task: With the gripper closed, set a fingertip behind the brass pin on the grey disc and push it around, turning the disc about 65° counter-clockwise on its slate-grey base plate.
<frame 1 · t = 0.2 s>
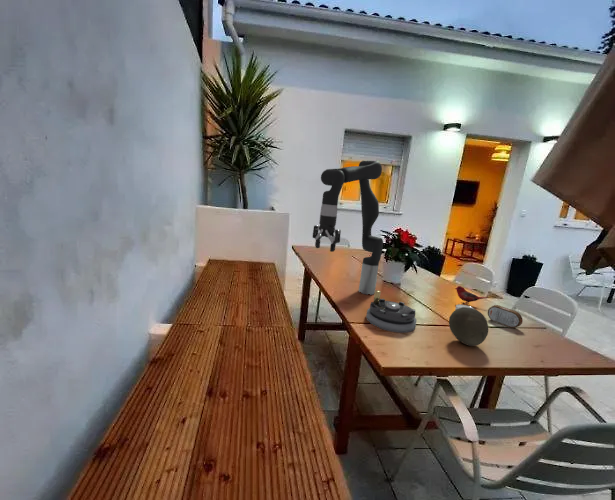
hand: (324, 249, 142), 29 cm above the table, tool pointing down, fingers open, 8 cm apart
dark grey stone: (464, 343, 127), on the table
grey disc: (392, 305, 140), point 8 cm above the table, hinge at 0.0°
base plate: (390, 321, 141), on the table
decorative bird figurine: (468, 305, 177), on the table
tin: (502, 324, 153), on the table
white cup: (461, 328, 142), on the table
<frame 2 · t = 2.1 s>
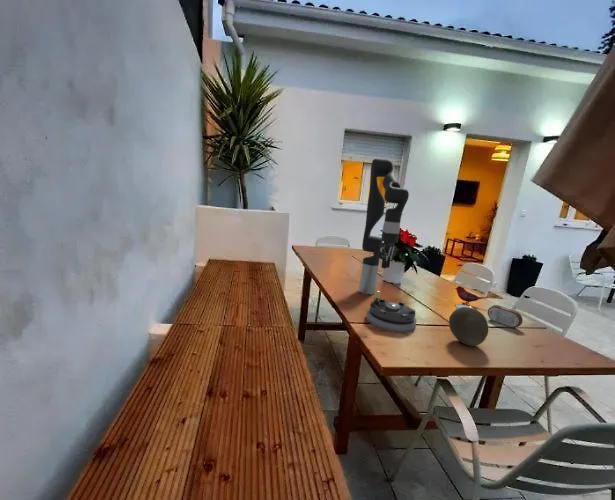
hand: (385, 267, 145), 23 cm above the table, tool pointing down, fingers closed
nothing on the table moved.
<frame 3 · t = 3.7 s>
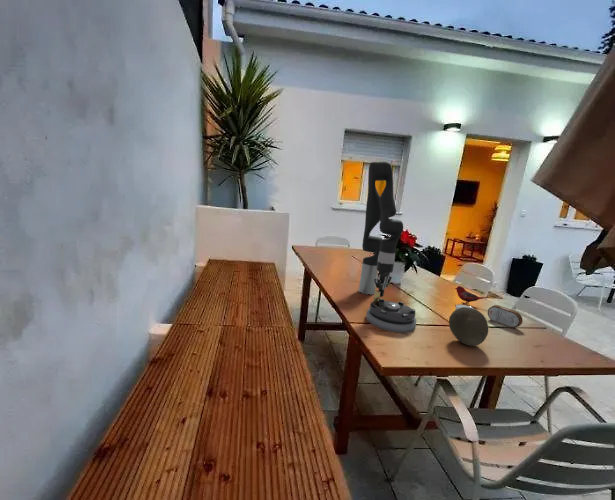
hand: (380, 296, 148), 9 cm above the table, tool pointing down, fingers closed
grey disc: (392, 305, 140), point 8 cm above the table, hinge at 1.9°, touching gripper
everything else where it was.
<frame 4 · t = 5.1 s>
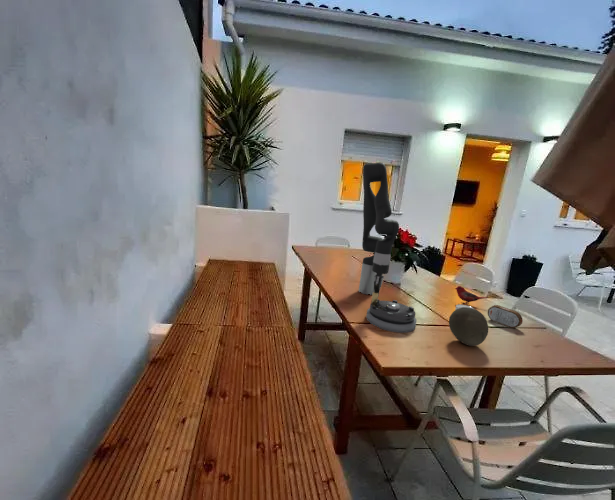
hand: (375, 297, 146), 9 cm above the table, tool pointing down, fingers closed
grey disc: (392, 305, 140), point 8 cm above the table, hinge at 20.8°, touching gripper
everything else where it was.
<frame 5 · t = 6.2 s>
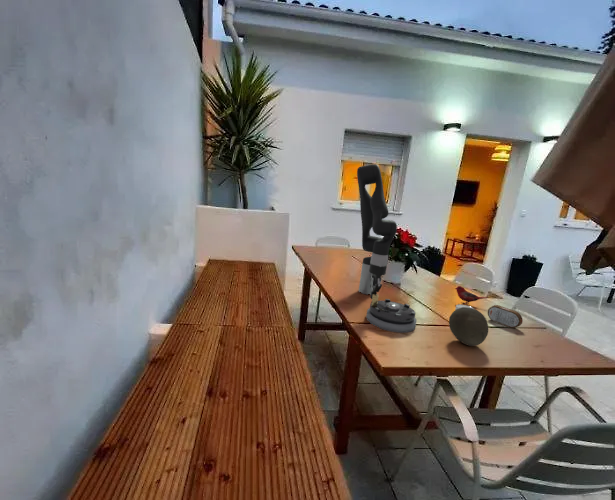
hand: (372, 298, 143), 9 cm above the table, tool pointing down, fingers closed
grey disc: (392, 305, 140), point 8 cm above the table, hinge at 42.3°, touching gripper
everything else where it was.
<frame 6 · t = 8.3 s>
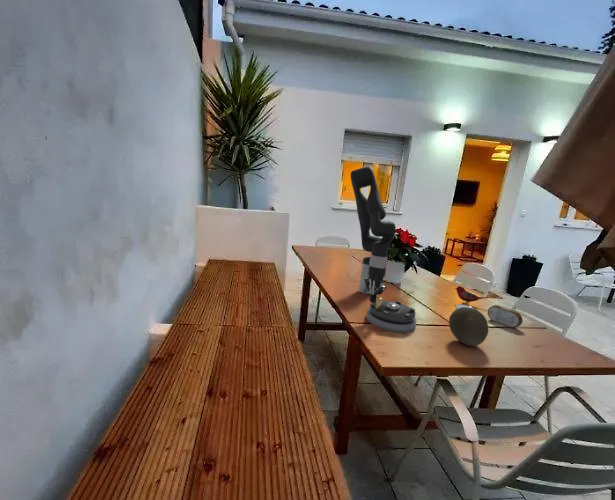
hand: (372, 301, 140), 8 cm above the table, tool pointing down, fingers closed
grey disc: (392, 305, 140), point 8 cm above the table, hinge at 70.5°
everything else where it was.
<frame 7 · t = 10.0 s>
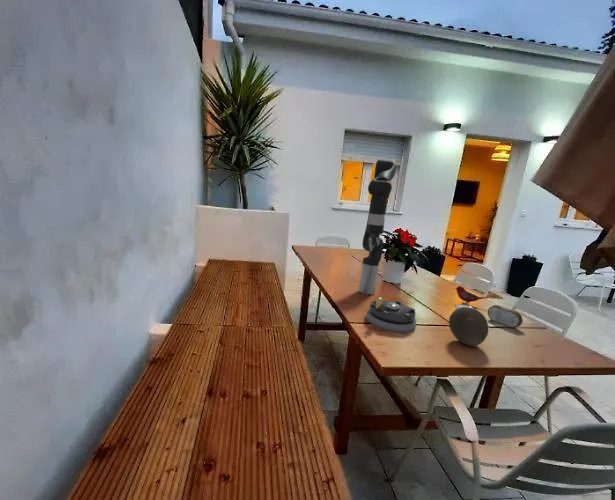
hand: (372, 258, 150), 26 cm above the table, tool pointing down, fingers closed
nothing on the table moved.
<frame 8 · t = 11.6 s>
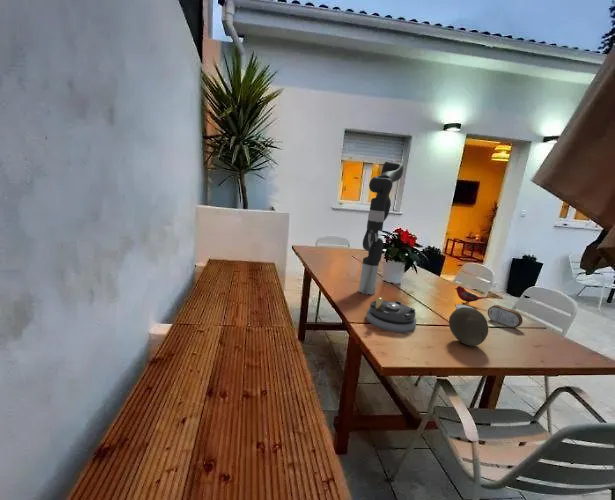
hand: (370, 255, 152), 27 cm above the table, tool pointing down, fingers closed
nothing on the table moved.
at the end: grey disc at +70° (first picture: +0°) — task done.
